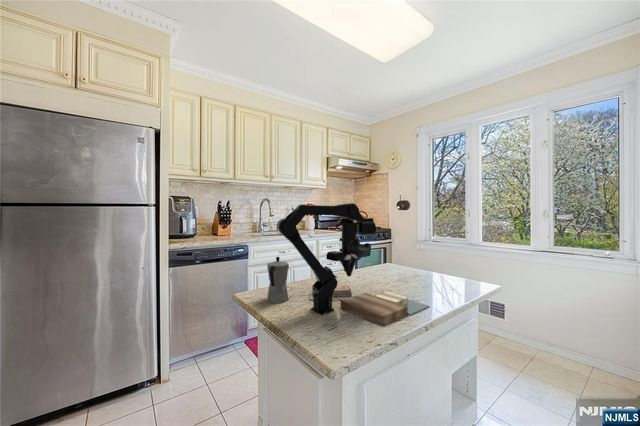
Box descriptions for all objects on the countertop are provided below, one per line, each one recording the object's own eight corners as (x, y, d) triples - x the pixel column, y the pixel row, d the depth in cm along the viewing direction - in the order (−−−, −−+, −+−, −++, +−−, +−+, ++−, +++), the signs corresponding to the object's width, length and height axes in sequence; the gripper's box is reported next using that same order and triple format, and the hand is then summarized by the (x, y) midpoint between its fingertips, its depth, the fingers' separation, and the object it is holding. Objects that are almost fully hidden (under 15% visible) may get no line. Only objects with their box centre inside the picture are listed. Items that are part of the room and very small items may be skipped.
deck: (383, 325, 85) (383, 316, 85) (340, 307, 101) (340, 300, 100) (407, 314, 94) (407, 306, 94) (365, 299, 109) (365, 292, 109)
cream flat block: (396, 309, 98) (396, 302, 98) (374, 301, 105) (374, 295, 105) (407, 304, 103) (407, 297, 103) (386, 297, 111) (386, 291, 111)
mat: (410, 315, 93) (410, 314, 93) (363, 299, 110) (363, 298, 110) (429, 307, 101) (429, 305, 101) (383, 293, 118) (383, 291, 118)
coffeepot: (272, 294, 117) (272, 254, 117) (292, 295, 116) (292, 254, 115) (259, 306, 102) (259, 260, 102) (282, 308, 100) (282, 261, 100)
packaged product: (348, 283, 119) (352, 289, 109) (348, 293, 119) (352, 301, 109) (309, 283, 118) (309, 290, 108) (309, 294, 118) (309, 302, 108)
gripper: (346, 239, 89) (346, 285, 89) (381, 235, 101) (381, 276, 101) (325, 236, 97) (325, 278, 98) (359, 233, 109) (359, 271, 109)
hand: (349, 276), depth 101 cm, fingers closed
